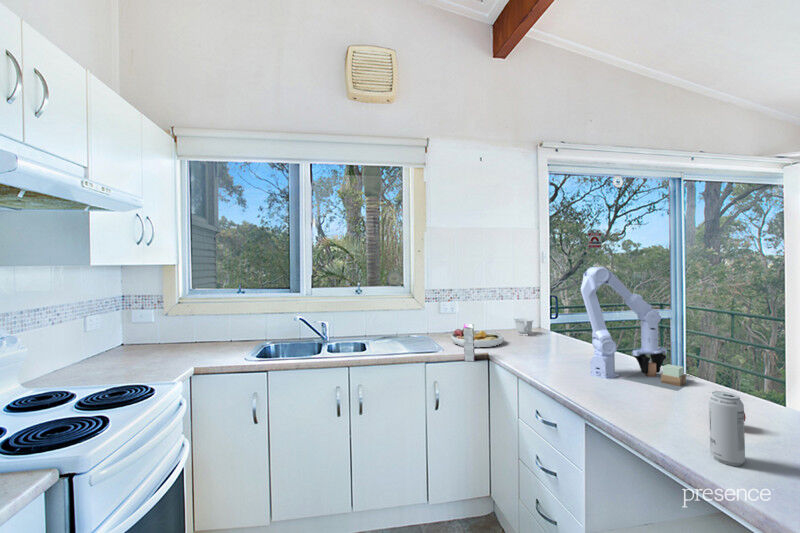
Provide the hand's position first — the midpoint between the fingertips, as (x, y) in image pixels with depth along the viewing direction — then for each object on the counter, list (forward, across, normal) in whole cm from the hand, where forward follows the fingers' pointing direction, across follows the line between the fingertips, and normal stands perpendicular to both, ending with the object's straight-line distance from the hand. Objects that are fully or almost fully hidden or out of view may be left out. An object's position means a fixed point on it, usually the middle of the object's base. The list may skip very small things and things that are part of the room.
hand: (650, 372), depth 148 cm
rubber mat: (+2, -2, -5) cm, 6 cm away
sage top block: (-2, 0, -10) cm, 10 cm away
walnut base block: (+1, 0, -10) cm, 10 cm away
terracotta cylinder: (+1, 0, 0) cm, 1 cm away
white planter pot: (+2, 0, +93) cm, 93 cm away
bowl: (+2, -38, +80) cm, 89 cm away
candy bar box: (+2, -56, +48) cm, 74 cm away
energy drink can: (+2, -37, -56) cm, 67 cm away
